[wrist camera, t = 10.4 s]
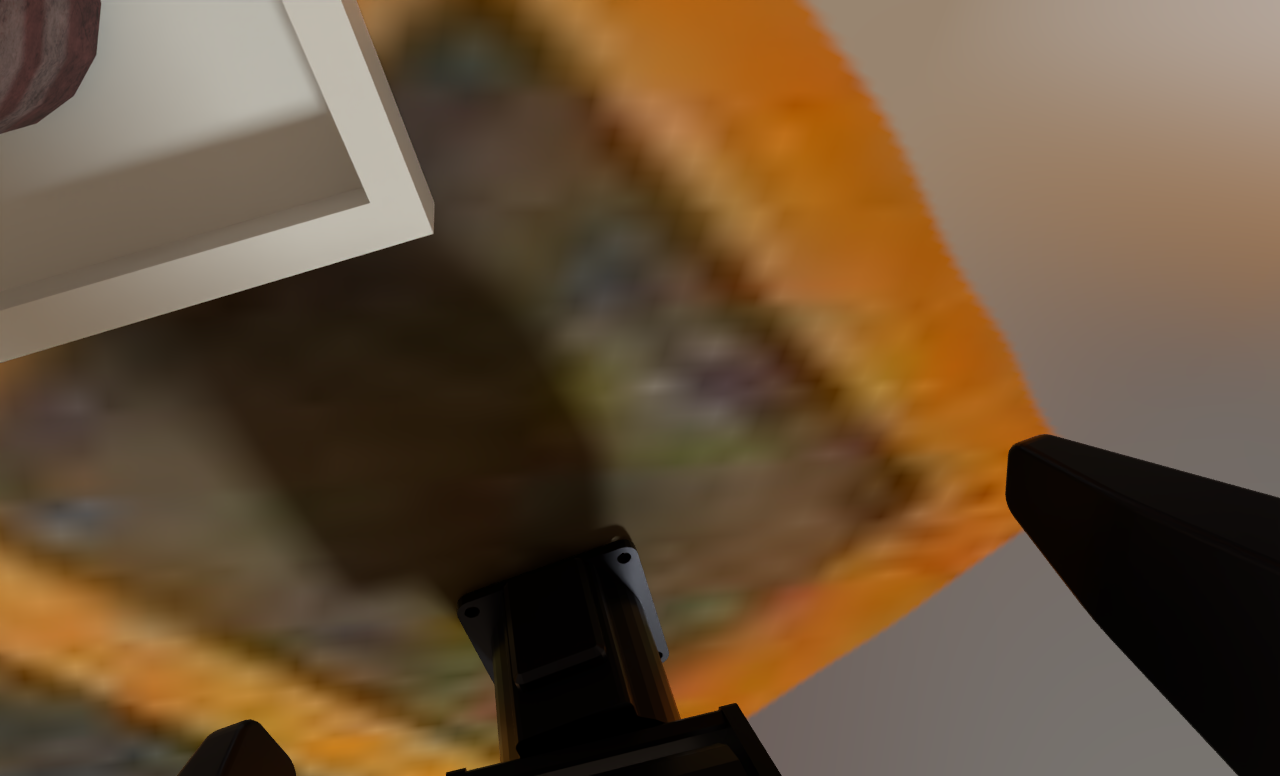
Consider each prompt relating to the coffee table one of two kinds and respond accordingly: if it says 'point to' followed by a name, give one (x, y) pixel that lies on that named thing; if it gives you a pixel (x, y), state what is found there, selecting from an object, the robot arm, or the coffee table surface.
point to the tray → (201, 166)
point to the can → (43, 56)
